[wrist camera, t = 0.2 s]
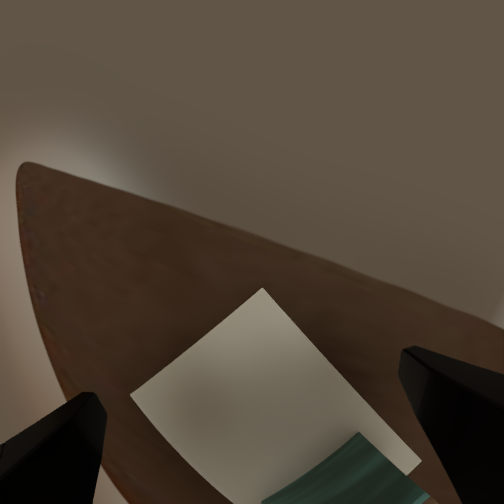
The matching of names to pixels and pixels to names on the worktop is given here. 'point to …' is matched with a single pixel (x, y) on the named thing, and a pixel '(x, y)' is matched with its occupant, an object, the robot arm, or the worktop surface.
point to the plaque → (353, 480)
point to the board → (260, 405)
